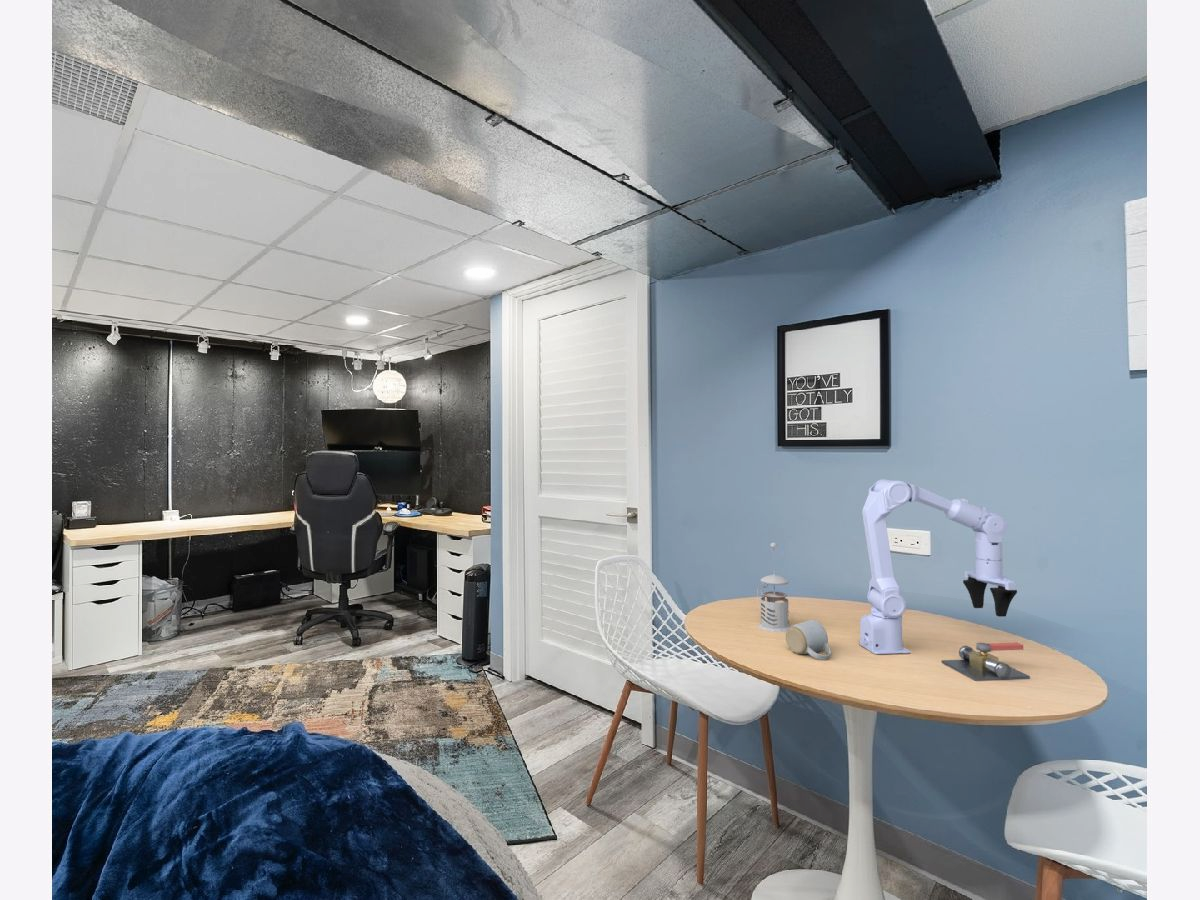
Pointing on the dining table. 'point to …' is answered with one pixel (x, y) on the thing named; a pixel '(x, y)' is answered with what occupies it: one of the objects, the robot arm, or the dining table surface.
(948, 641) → the dining table surface
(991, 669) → the valve assembly
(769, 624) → the french press
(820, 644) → the ceramic mug
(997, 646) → the valve lever
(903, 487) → the robot arm
